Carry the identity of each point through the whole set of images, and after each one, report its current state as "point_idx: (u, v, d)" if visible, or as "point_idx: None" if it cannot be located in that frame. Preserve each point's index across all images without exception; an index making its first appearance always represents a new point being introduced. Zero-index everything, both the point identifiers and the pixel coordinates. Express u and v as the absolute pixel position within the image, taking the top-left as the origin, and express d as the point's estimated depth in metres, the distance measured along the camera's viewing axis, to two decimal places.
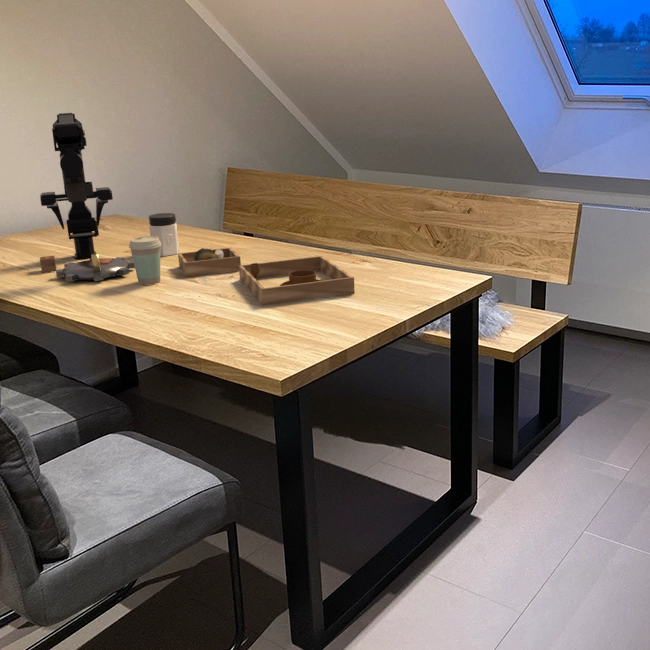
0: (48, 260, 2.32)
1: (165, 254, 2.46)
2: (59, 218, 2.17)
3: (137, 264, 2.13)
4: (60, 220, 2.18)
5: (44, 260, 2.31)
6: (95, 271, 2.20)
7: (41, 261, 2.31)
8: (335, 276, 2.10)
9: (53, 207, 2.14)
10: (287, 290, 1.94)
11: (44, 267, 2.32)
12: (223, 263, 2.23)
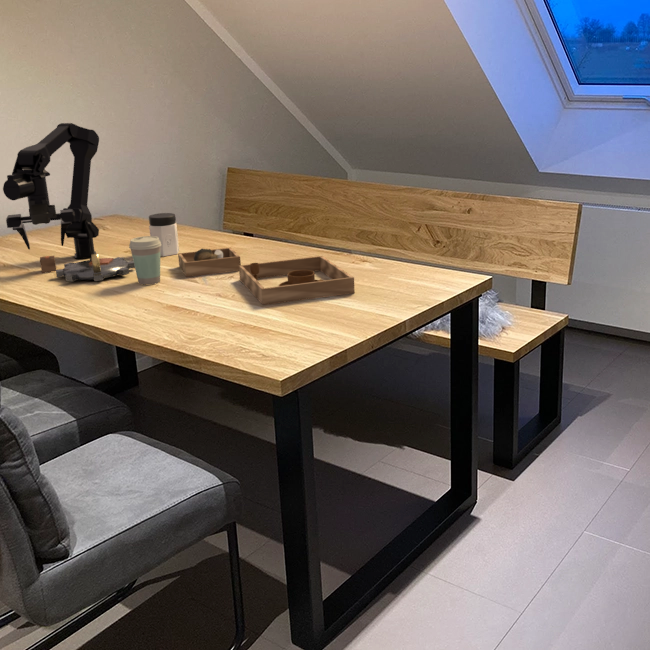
0: (48, 260, 2.32)
1: (165, 254, 2.46)
2: (25, 239, 2.29)
3: (137, 264, 2.13)
4: (26, 241, 2.29)
5: (44, 260, 2.31)
6: (95, 271, 2.20)
7: (41, 261, 2.31)
8: (335, 276, 2.10)
9: (18, 229, 2.26)
10: (287, 290, 1.94)
11: (44, 267, 2.32)
12: (223, 263, 2.23)
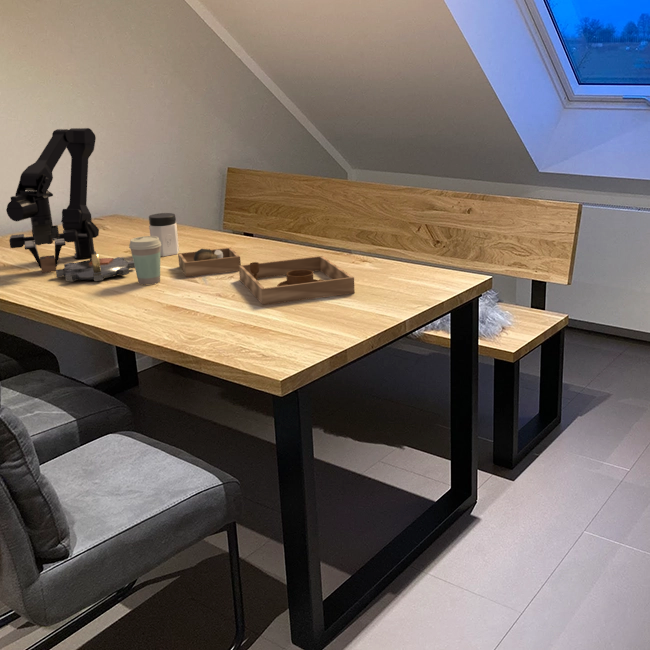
0: (48, 260, 2.32)
1: (165, 254, 2.46)
2: (36, 258, 2.31)
3: (137, 264, 2.13)
4: (37, 260, 2.32)
5: (44, 260, 2.31)
6: (95, 271, 2.20)
7: (41, 261, 2.31)
8: (335, 276, 2.10)
9: (30, 248, 2.28)
10: (287, 290, 1.94)
11: (44, 267, 2.32)
12: (223, 263, 2.23)
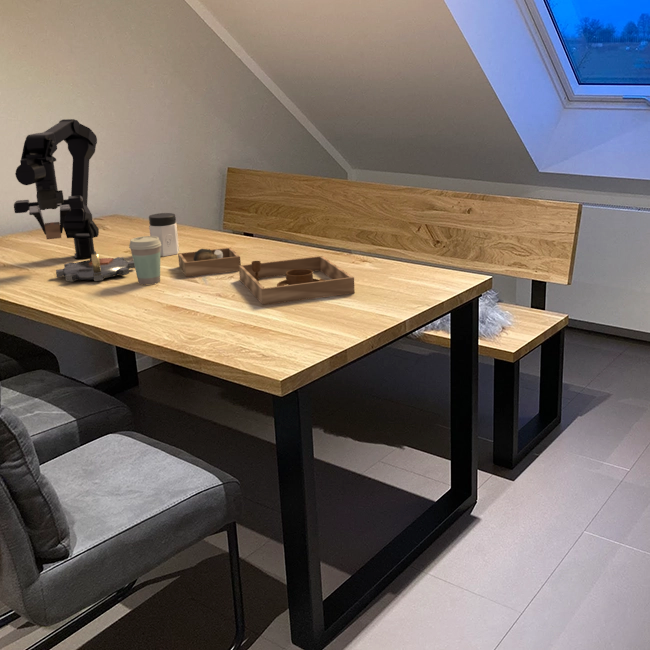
0: (53, 226, 2.28)
1: (165, 254, 2.46)
2: (41, 224, 2.28)
3: (137, 264, 2.13)
4: (42, 226, 2.28)
5: (49, 226, 2.28)
6: (95, 271, 2.20)
7: (46, 227, 2.28)
8: (335, 276, 2.10)
9: (35, 214, 2.25)
10: (287, 290, 1.94)
11: (49, 233, 2.29)
12: (223, 263, 2.23)
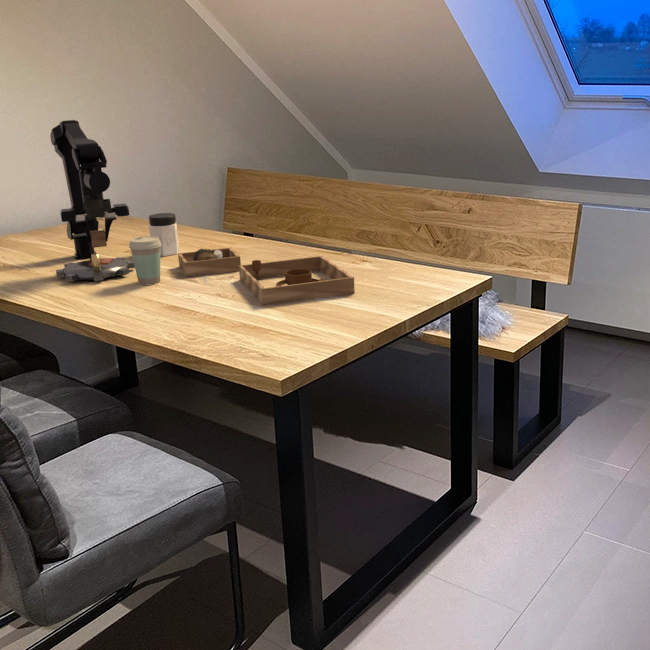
0: (99, 234, 2.28)
1: (165, 254, 2.46)
2: (87, 232, 2.28)
3: (137, 264, 2.13)
4: (88, 234, 2.28)
5: (95, 234, 2.28)
6: (95, 271, 2.20)
7: (92, 235, 2.28)
8: (335, 276, 2.10)
9: (82, 222, 2.25)
10: (287, 290, 1.94)
11: (95, 241, 2.29)
12: (223, 263, 2.23)
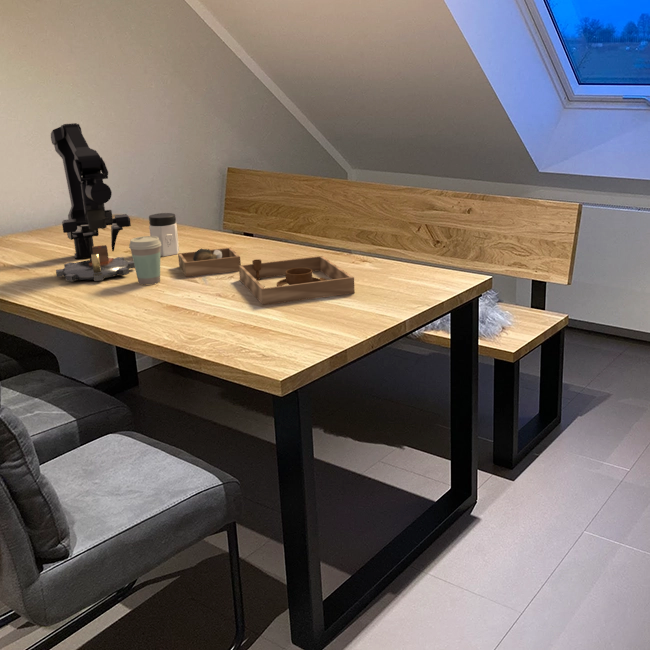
0: (101, 249, 2.30)
1: (165, 254, 2.46)
2: (83, 244, 2.29)
3: (137, 264, 2.13)
4: (84, 245, 2.29)
5: (97, 249, 2.29)
6: (95, 271, 2.20)
7: (94, 250, 2.29)
8: (335, 276, 2.10)
9: (78, 233, 2.26)
10: (287, 290, 1.94)
11: None
12: (223, 263, 2.23)
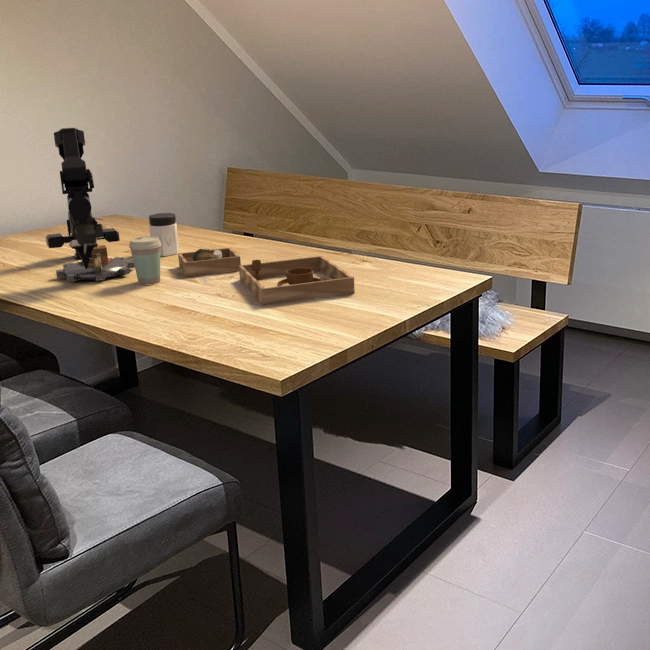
0: (100, 249, 2.30)
1: (165, 254, 2.46)
2: (83, 258, 2.18)
3: (137, 264, 2.13)
4: (84, 260, 2.18)
5: (96, 249, 2.29)
6: (96, 271, 2.20)
7: (93, 250, 2.29)
8: (335, 276, 2.10)
9: (78, 247, 2.15)
10: (287, 290, 1.94)
11: None
12: (223, 263, 2.23)
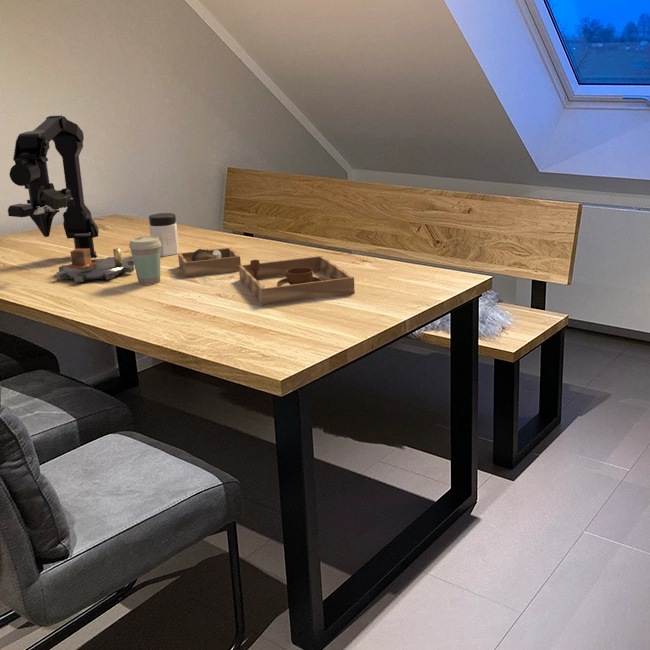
0: (87, 251, 2.29)
1: (165, 254, 2.46)
2: (45, 226, 2.20)
3: (137, 264, 2.13)
4: (45, 228, 2.20)
5: (85, 251, 2.28)
6: (120, 265, 2.26)
7: (84, 252, 2.27)
8: (335, 276, 2.10)
9: (44, 214, 2.17)
10: (287, 290, 1.94)
11: (86, 258, 2.28)
12: (223, 263, 2.23)
